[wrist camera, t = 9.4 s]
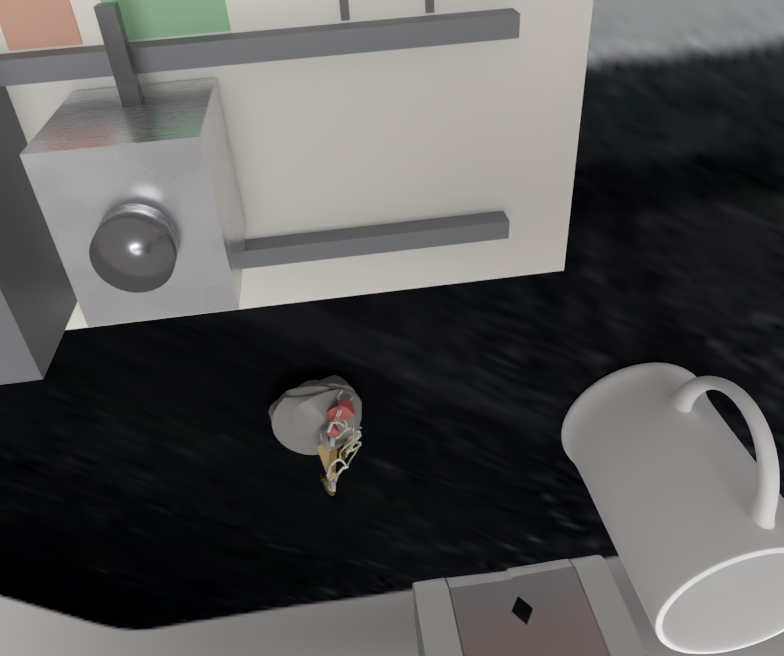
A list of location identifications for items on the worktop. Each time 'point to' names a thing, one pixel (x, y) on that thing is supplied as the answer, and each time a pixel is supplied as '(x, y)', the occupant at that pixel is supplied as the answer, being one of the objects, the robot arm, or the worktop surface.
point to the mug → (685, 503)
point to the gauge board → (320, 140)
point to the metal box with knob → (141, 193)
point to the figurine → (319, 422)
